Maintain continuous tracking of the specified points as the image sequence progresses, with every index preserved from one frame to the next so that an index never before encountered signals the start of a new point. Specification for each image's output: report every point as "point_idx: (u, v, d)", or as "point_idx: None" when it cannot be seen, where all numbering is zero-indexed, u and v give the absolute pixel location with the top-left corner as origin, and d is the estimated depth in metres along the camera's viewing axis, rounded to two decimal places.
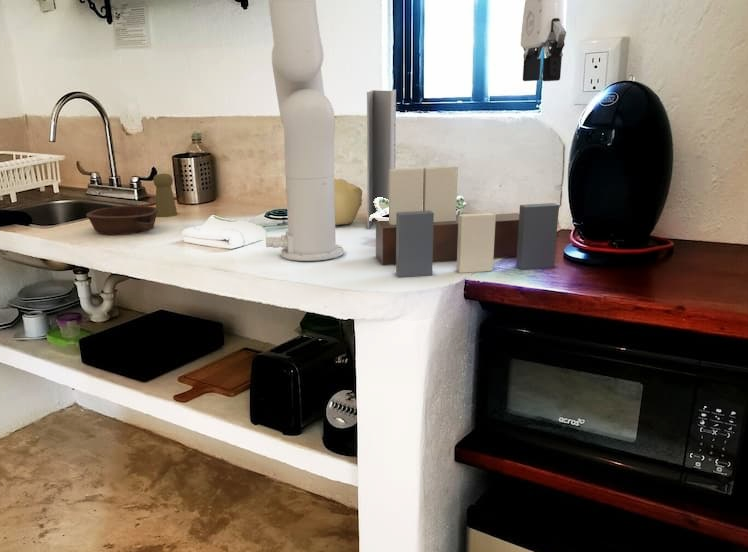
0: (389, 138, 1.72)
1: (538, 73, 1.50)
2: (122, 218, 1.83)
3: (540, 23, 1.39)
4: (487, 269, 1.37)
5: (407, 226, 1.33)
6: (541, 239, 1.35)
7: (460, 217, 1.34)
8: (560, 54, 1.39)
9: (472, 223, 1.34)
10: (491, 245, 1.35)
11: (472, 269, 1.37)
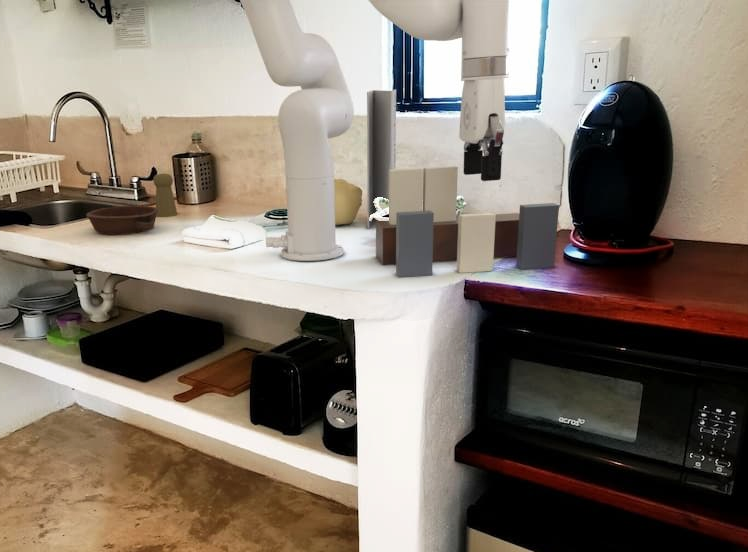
0: (389, 138, 1.72)
1: (480, 166, 1.36)
2: (122, 218, 1.83)
3: (476, 118, 1.24)
4: (487, 269, 1.37)
5: (407, 226, 1.33)
6: (541, 239, 1.35)
7: (460, 217, 1.34)
8: (499, 153, 1.25)
9: (472, 223, 1.34)
10: (491, 245, 1.35)
11: (472, 269, 1.37)
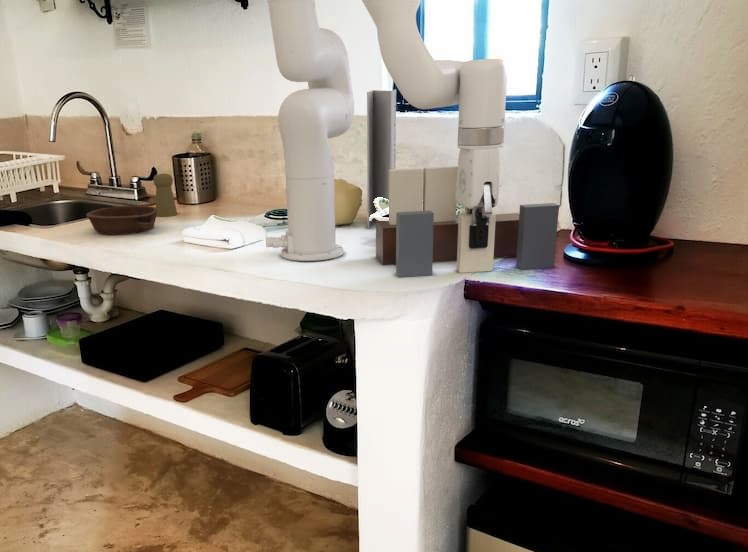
0: (389, 138, 1.72)
1: None
2: (122, 218, 1.83)
3: (472, 186, 1.28)
4: (487, 269, 1.37)
5: (407, 226, 1.33)
6: (541, 239, 1.35)
7: (460, 217, 1.34)
8: (486, 223, 1.32)
9: None
10: (491, 245, 1.35)
11: (472, 269, 1.37)
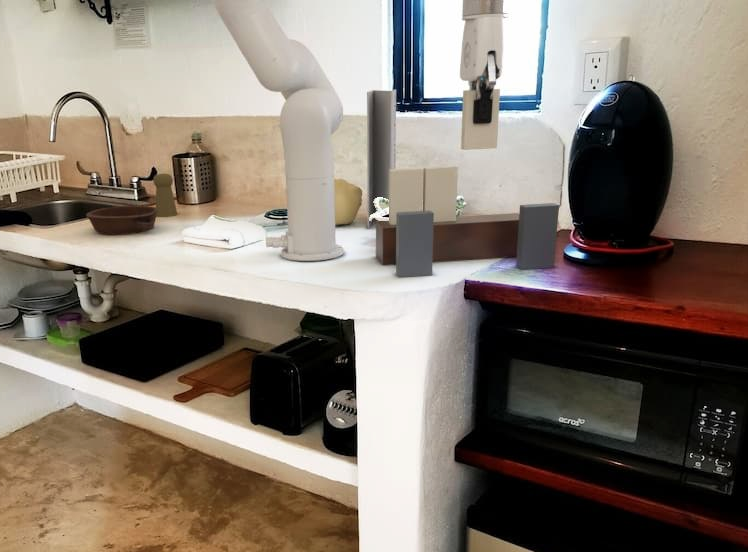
0: (389, 138, 1.72)
1: None
2: (122, 218, 1.83)
3: (476, 55, 1.29)
4: (491, 146, 1.38)
5: (407, 226, 1.33)
6: (541, 239, 1.35)
7: (465, 92, 1.35)
8: (490, 97, 1.34)
9: None
10: (495, 121, 1.37)
11: (476, 146, 1.38)
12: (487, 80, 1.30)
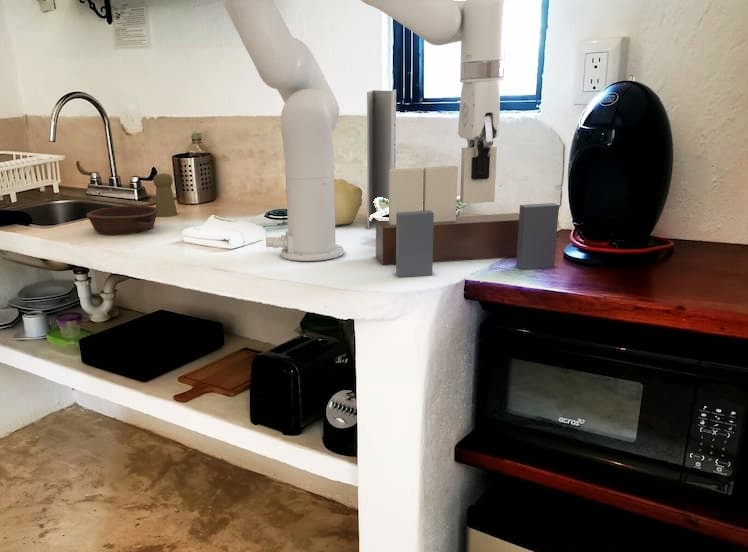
0: (389, 138, 1.72)
1: None
2: (122, 218, 1.83)
3: (474, 117, 1.36)
4: (489, 200, 1.45)
5: (407, 226, 1.33)
6: (541, 239, 1.35)
7: (463, 149, 1.42)
8: (487, 154, 1.40)
9: None
10: (493, 177, 1.43)
11: (474, 200, 1.44)
12: (484, 140, 1.37)
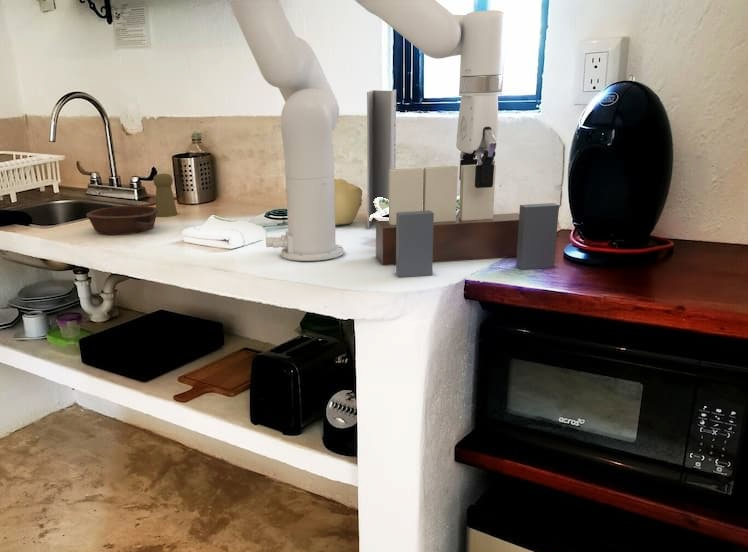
0: (389, 138, 1.72)
1: None
2: (122, 218, 1.83)
3: (472, 131, 1.36)
4: (488, 217, 1.46)
5: (407, 226, 1.33)
6: (541, 239, 1.35)
7: (462, 167, 1.43)
8: (491, 163, 1.37)
9: (474, 173, 1.43)
10: (491, 194, 1.44)
11: (473, 217, 1.46)
12: None
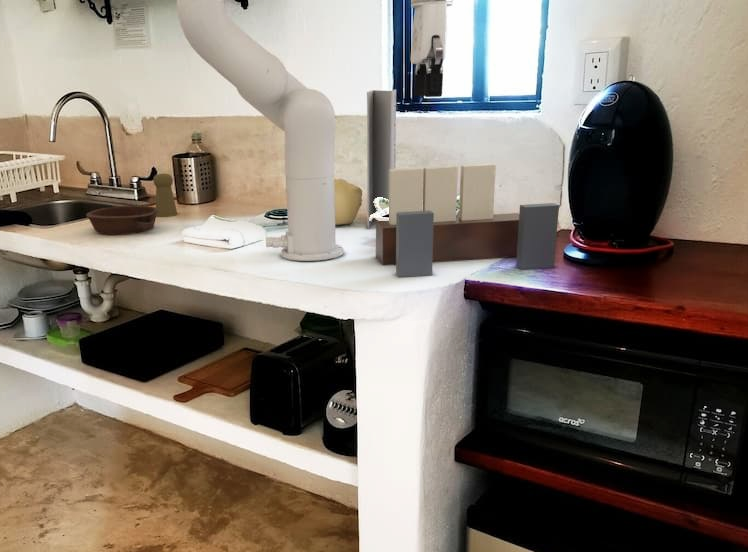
0: (389, 138, 1.72)
1: None
2: (122, 218, 1.83)
3: (421, 39, 1.40)
4: (488, 217, 1.46)
5: (407, 226, 1.33)
6: (541, 239, 1.35)
7: (462, 167, 1.43)
8: (440, 71, 1.41)
9: (474, 173, 1.43)
10: (491, 194, 1.44)
11: (473, 217, 1.46)
12: (431, 62, 1.41)
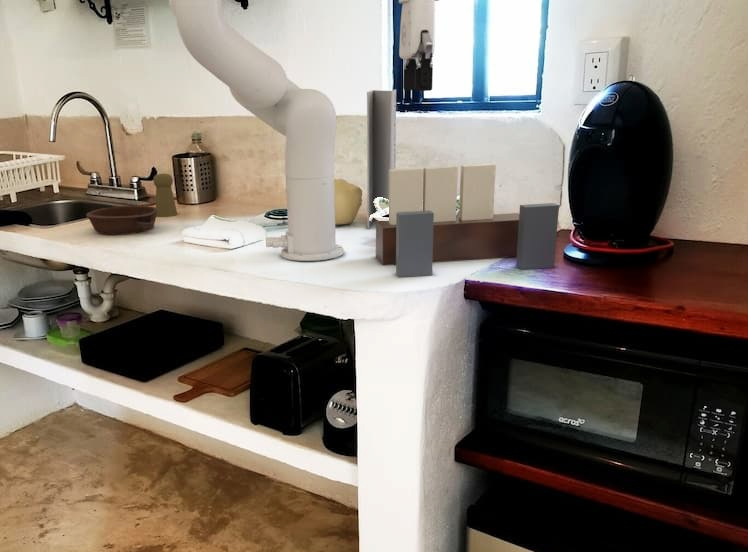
0: (389, 138, 1.72)
1: None
2: (122, 218, 1.83)
3: (410, 34, 1.42)
4: (488, 217, 1.46)
5: (407, 226, 1.33)
6: (541, 239, 1.35)
7: (462, 167, 1.43)
8: (429, 65, 1.43)
9: (474, 173, 1.43)
10: (491, 194, 1.44)
11: (473, 217, 1.46)
12: None
